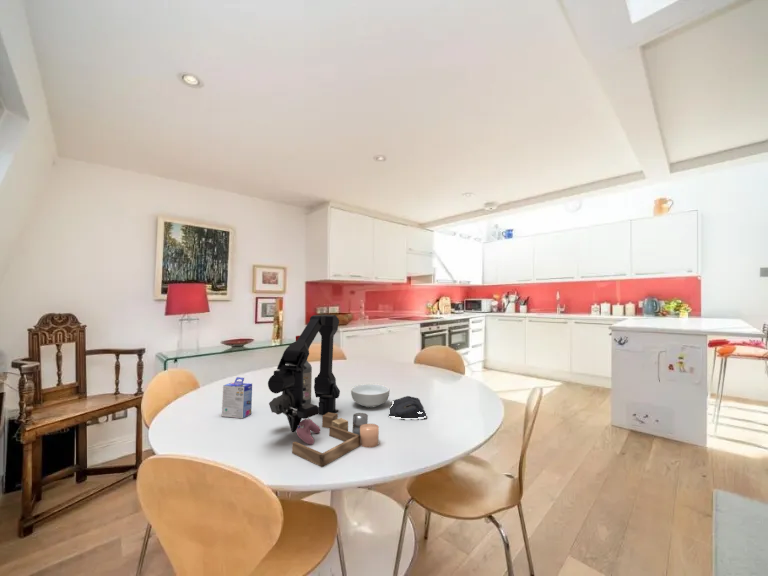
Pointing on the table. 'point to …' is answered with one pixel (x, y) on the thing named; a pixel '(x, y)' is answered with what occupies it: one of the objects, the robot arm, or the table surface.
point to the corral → (333, 453)
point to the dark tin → (359, 422)
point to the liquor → (307, 381)
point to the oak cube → (340, 423)
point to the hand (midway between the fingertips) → (293, 432)
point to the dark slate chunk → (407, 408)
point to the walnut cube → (328, 419)
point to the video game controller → (307, 430)
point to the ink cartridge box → (237, 399)
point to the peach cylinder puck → (369, 435)
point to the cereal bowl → (370, 394)
